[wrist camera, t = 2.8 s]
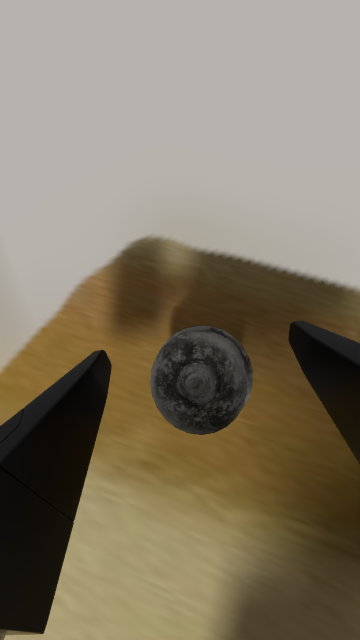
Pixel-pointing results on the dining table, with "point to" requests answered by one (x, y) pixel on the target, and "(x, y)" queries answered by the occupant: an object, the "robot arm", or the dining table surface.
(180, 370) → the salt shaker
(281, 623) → the dining table surface
